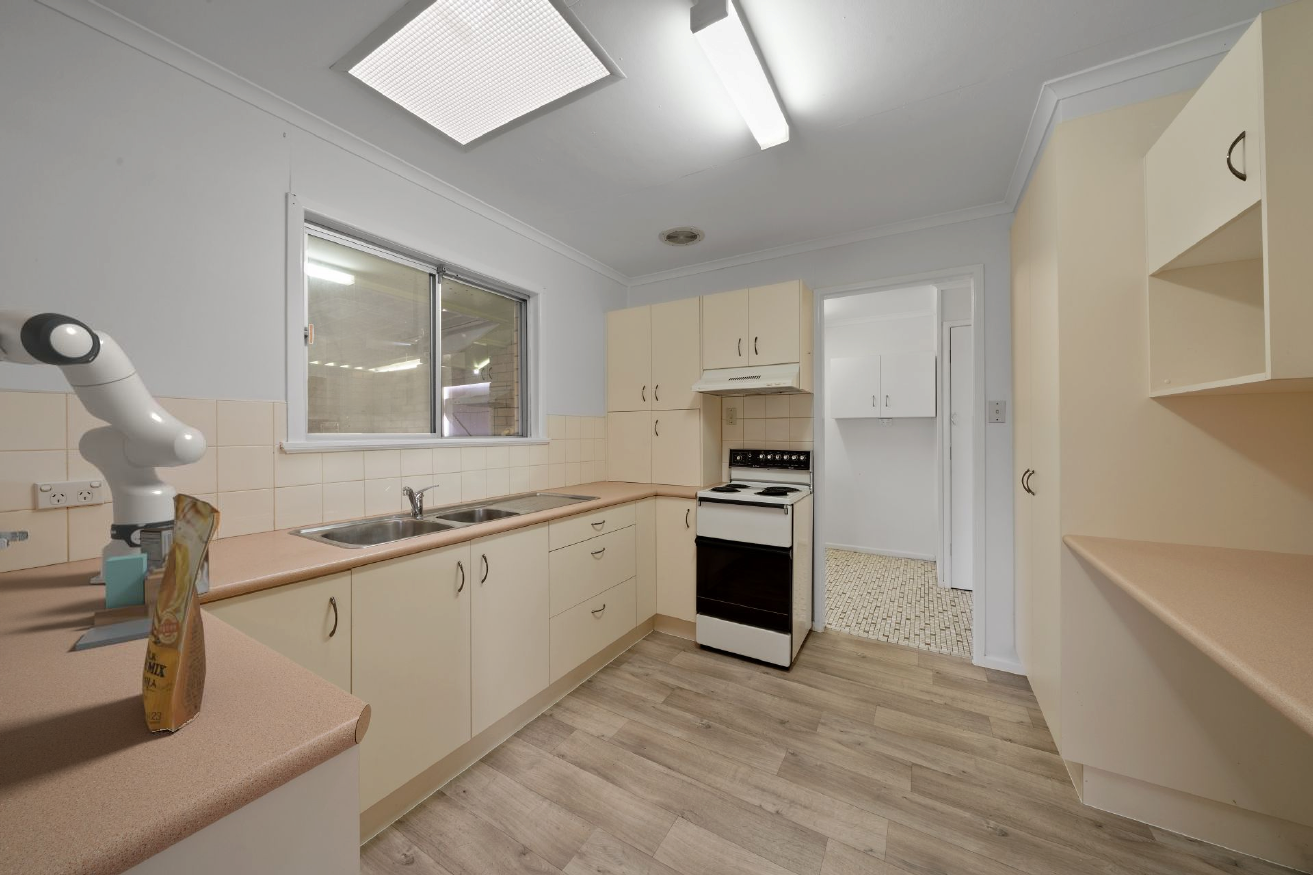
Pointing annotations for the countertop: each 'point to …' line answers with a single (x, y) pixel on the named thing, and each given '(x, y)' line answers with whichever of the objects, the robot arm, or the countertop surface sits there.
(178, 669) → the pancake mix bag
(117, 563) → the tall teal pillar
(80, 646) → the pad
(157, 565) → the coffee box
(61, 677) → the countertop surface
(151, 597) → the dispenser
